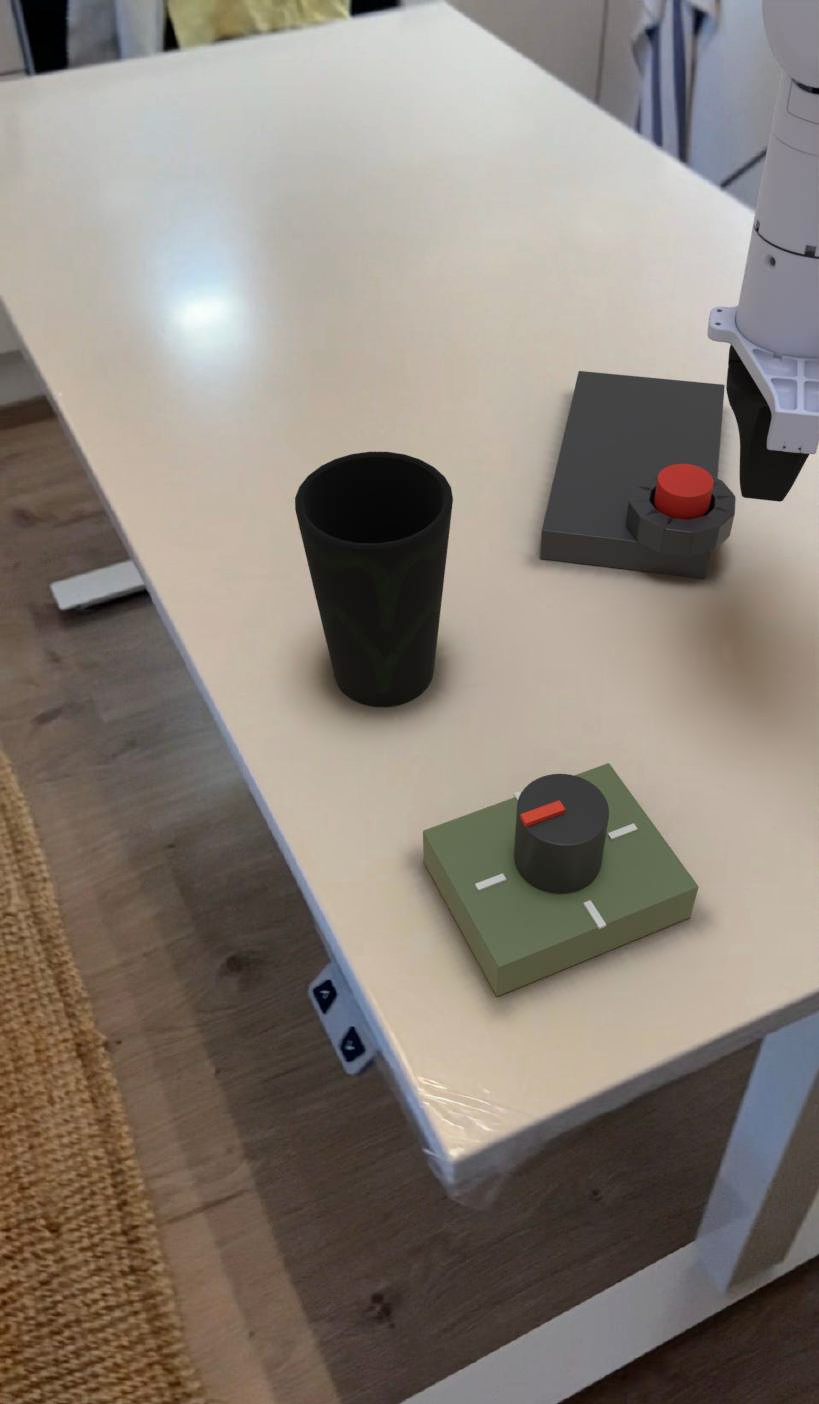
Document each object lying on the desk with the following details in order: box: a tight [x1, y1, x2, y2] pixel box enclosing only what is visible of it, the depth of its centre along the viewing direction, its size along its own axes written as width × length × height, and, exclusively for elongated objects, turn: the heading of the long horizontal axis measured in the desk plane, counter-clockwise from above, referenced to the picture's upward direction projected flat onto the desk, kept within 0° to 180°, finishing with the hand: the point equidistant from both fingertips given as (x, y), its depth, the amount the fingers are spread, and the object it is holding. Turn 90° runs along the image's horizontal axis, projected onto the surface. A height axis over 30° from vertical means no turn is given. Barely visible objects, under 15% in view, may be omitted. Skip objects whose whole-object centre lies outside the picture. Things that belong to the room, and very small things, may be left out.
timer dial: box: [514, 773, 609, 893], centre depth 53 cm, size 4×4×4 cm
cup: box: [294, 451, 454, 708], centre depth 62 cm, size 8×8×12 cm
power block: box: [539, 370, 737, 579], centre depth 76 cm, size 19×11×4 cm, turn 167°
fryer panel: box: [422, 762, 699, 997], centre depth 55 cm, size 10×8×3 cm
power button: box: [654, 464, 714, 520], centre depth 70 cm, size 3×3×2 cm
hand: (762, 491), depth 60 cm, fingers closed
